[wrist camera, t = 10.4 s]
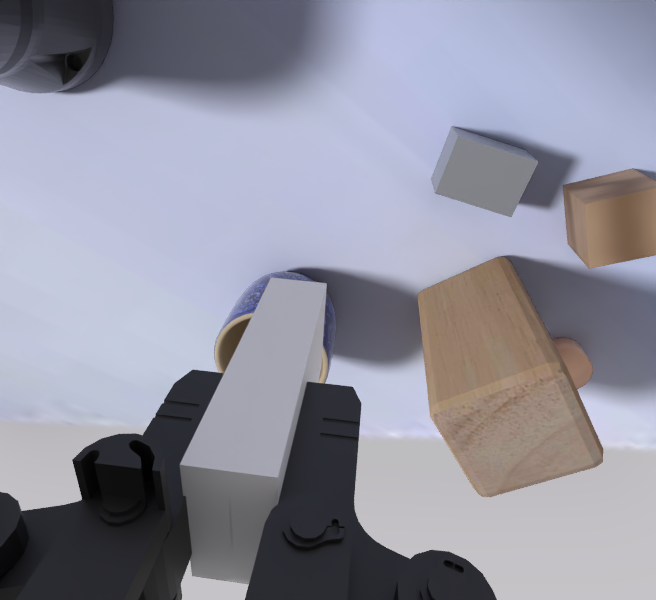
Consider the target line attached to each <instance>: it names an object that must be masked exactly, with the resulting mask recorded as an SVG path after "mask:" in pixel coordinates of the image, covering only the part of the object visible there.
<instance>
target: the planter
mask: <svg viewBox="0 0 656 600" xmlns="http://www.w3.org/2000/svg"><path fill="white" fill-rule="evenodd" d="M271 278H280V279H290V280H300V281H309V282H315V281H314V280H312V279H311V278H309V277H307V276H304V275H302V274H298V273H294V272H276V273H271V274H268V275H265V276H263V277H261V278H259V279H258V280H256V281H255V282H254V283H252V284H251V285H250V286H249V287H248V288H247V289H246V291H245V292H244V293H243V294H242V296H241V297H240V298H239V300H238V301H237V303H236V304H235V306H234V307H233V309H232V311H231V312H230V314H229V316H228V317H227V319H226V321H225V323H224V325H223V326H222V328H221V330H220V332H219V335H218V337H217V339H216V343H215V348H214V358H215V363H216V366H217V369H218V371H219V373H225V371H226V369H227V367H228V365H229V363H230V361H231V358H232V356H233V354H234V352H235V350H236V348H237V346H238V344H239V342H240V340H241V338H242V336H243V334H244V332H245V330H246V328H247V326H248V324H249V322H250V320H251V317H252V315H253V313H254V311H255V309H256V307H257V305H258V303H259V301H260V299H261V297H262V295H263V293H264V291H265V289H266V287H267V285H268V283H269V281H270V279H271ZM335 332H336V316H335V311H334V307H333V304H332V301H331V299H330V297H329V296H328V294H327V293H326V304H325V319H324V334H323V349H322V364H321V371H320V376H319V381H318V383H324V384H325V382H326V379H327V376H328V373H329V369H330V365H331V360H332V355H333V349H334V342H335Z"/></svg>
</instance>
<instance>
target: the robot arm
mask: <svg viewBox="0 0 656 600" xmlns="http://www.w3.org/2000/svg"><path fill="white" fill-rule="evenodd" d="M112 30H113V7H112V0H0V84H1V85H4V86H7V87H10V88H13V89H16V90H19V91H24V92H30V93H51V92H57V91H63V90H68V89H71V88H74V87H76V86H78V85H80V84H82V83H84V82H85V81H87V80H88V79H89V78H90V77H91V76H92V75H93V74H94V73H95V72H96V71H97V70H98V68H99V67H100V66H101V64H102V62H103V61H104V59H105V57H106V54H107V52H108V49H109V46H110V42H111V37H112ZM326 289H327V283H319V282H309V281H300V280H290V279H280V278H271V279H270V281H269V283H268V285H267V287H266V289H265V291H264V293H263V295H262V297H261V299H260V301H259V303H258V305H257V307H256V309H255V311H254V313H253V315H252V317H251V320H250V322H249V324H248V326H247V328H246V330H245V332H244V334H243V336H242V338H241V340H240V342H239V344H238V346H237V348H236V350H235V352H234V354H233V356H232V358H231V361H230V363H229V365H228V367H227V369H226V371H225V373H217V372H208V371H200V370H192V371H191V372H189V373H188V374H186V375H185V376H184V377H182V378H181V379H180V380H178V381H177V382H176V383H175V384H174V385H173V387H172V389H171V390H170V392H169V393H168V395H167V397H166V398H165V400H164V404H163V403H162V405H161V406H160V408H159V410H158V411H157V413H156V416H155V418H153V419H152V421H151V423H150V424H149V426H148V427H147V429H146V431H145V432H144V434H143V436H142V435H139V434H118V435H114V436H110V437H106V438H102V439H101V440H98V441H97V442H95V443H93V444H91V445H89V446H87V447H86V448H84V449H83V450H82V451H81V452H80V453H79V454H78V455H77V456H76V457H75V458H74V459H73V464H74V468H75V472H76V476H77V480H78V484H79V488H80V491H81V495H82V500H81V501H78V502H75V503H70V504H66V505H61V506H54V507H48V508H41V509H33V510H27V511H21V509H20V506H19V503H18V501H17V500H15V499H14V498H13V497H12V496H11V495H9V494H8V493H2V492H0V600H181V599H182V593H181V581H182V579H183V576H184V573H185V571H186V568H187V565H188V563H189V560H190V561H191V569H192V576H196V577H202V578H209V579H216V580H224V581H230V582H237V583H244V584H249V586H248V590H247V594H246V598H245V600H497V599H496V597H495V595H494V592H493V590H492V588H491V587H490V585H489V584H488V582H487V580H486V579H485V577H484V576H483V574H482V573H481V572H480V571H479V570H478V569H477V568H476V567H474V566H473V565H472V564H471V563H470V562H469V561H467V560H466V559H464V558H462V557H459V556H457V555H455V554H453V553H450V552H445V551H436V550H429V551H426V552H423V553H419V554H416V555H414V556H413V557H412V558H411V559H409V558H407V557H404V556H402V555H400V554H398V553H396V552H394V551H392V550H390V549H388V548H386V547H384V546H382V545H381V544H379V543H377V542H376V541H375V540H373V539H372V538H371V537H370V536H369V535H368V534H367V533H366V532H365V531H364V529H363V528H362V526H361V525H360V523H359V522H358V519H357V516H356V513H355V510H354V491H355V479H356V465H357V453H358V440H359V427H360V414H361V402H360V400H359V398H358V396H357V394H356V392H355V390H354V388H353V387H349V386H341V385H332V384H324V383H318V381H319V376H320V371H321V364H322V349H323V334H324V319H325V304H326Z"/></svg>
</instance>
